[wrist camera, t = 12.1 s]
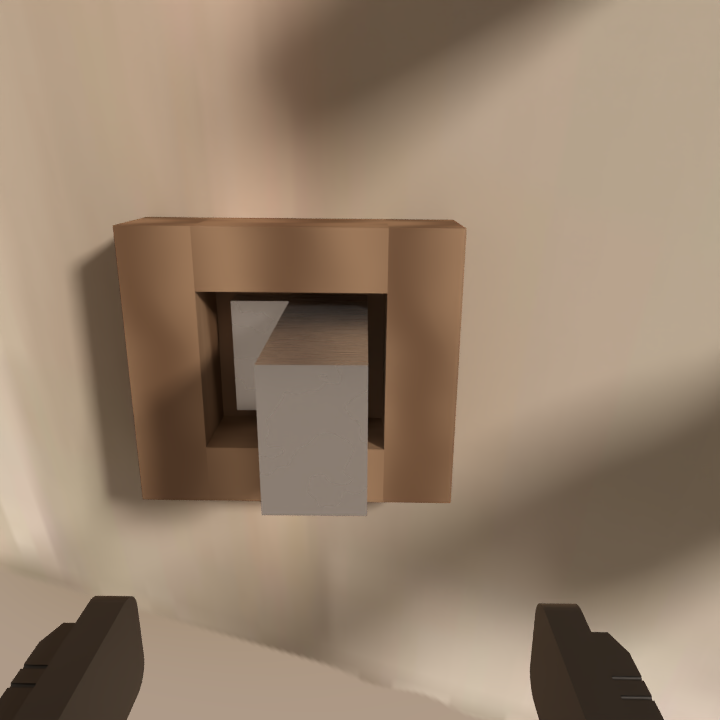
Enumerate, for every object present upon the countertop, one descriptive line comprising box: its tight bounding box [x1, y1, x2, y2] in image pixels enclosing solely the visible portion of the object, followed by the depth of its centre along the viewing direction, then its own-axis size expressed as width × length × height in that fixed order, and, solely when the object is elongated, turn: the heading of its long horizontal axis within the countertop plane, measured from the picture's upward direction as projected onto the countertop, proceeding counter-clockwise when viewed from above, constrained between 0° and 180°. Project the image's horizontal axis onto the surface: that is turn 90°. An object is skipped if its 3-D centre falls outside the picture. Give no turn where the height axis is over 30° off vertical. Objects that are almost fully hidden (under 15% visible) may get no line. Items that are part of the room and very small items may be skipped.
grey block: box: [231, 295, 368, 516], centre depth 29 cm, size 7×6×12 cm
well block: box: [113, 217, 466, 503], centre depth 32 cm, size 16×14×4 cm
